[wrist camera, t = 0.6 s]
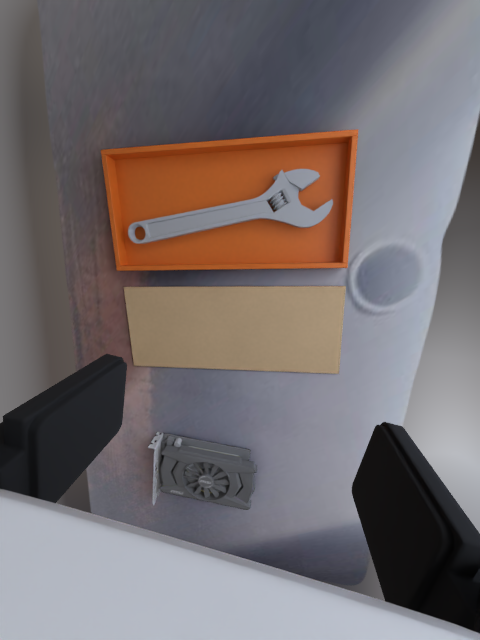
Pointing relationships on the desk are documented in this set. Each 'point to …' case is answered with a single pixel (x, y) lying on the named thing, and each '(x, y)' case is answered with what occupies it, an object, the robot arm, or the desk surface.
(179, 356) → the desk mat
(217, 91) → the desk surface
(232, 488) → the graphics card
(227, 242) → the tool tray
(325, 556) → the desk surface
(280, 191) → the adjustable wrench
